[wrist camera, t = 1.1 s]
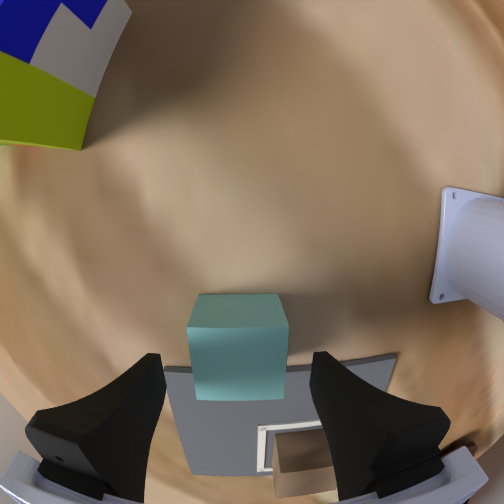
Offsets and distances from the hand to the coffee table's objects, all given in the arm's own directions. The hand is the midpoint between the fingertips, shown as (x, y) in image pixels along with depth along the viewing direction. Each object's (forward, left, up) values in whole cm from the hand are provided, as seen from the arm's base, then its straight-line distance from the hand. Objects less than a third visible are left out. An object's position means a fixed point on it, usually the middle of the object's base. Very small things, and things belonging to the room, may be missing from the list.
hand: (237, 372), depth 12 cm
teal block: (0, 0, -4) cm, 4 cm away
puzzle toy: (+13, -17, -5) cm, 22 cm away
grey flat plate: (-3, +10, -4) cm, 11 cm away
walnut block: (-5, +12, -4) cm, 14 cm away
